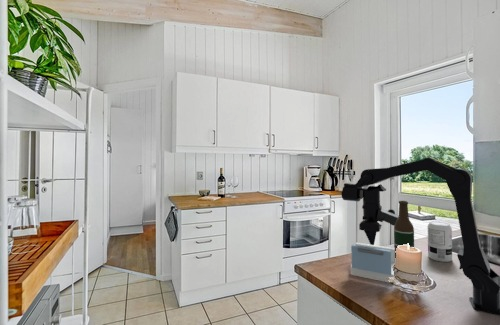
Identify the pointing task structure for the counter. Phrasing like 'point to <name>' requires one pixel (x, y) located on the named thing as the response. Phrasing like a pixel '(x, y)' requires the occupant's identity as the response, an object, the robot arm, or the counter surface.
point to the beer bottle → (403, 227)
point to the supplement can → (440, 241)
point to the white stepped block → (374, 274)
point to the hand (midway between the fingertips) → (372, 244)
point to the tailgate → (371, 259)
